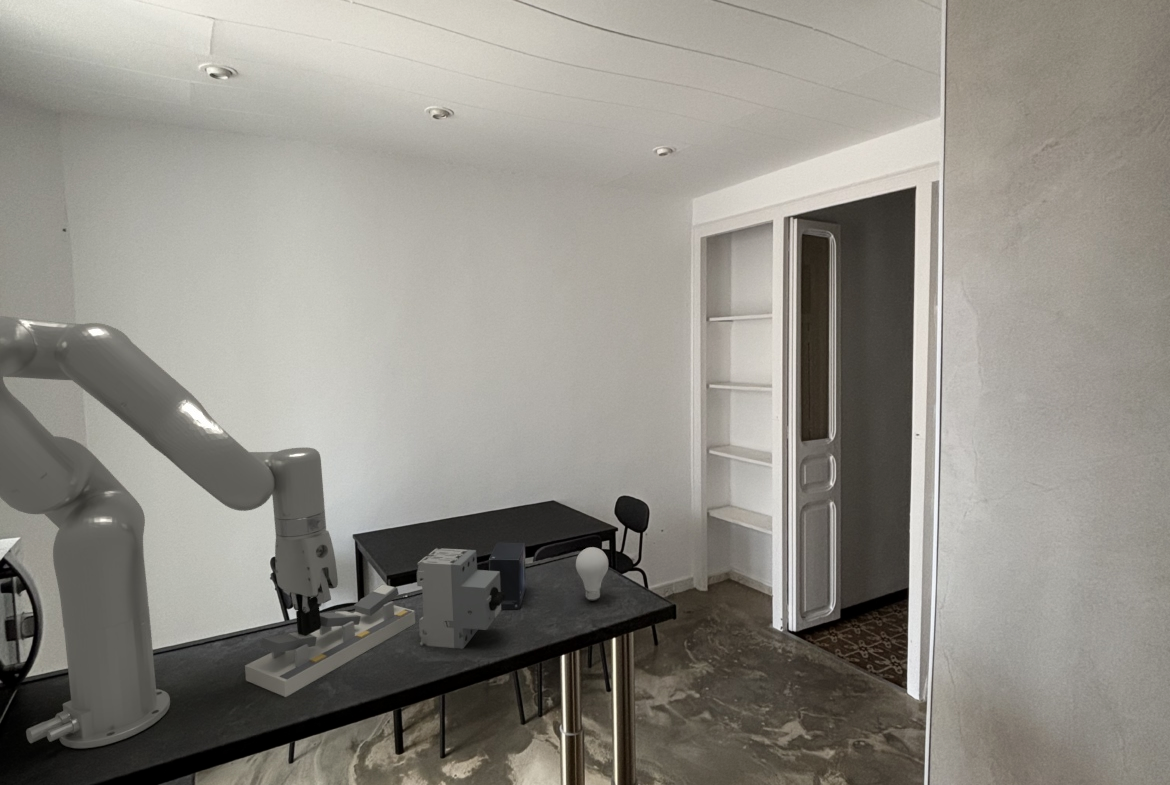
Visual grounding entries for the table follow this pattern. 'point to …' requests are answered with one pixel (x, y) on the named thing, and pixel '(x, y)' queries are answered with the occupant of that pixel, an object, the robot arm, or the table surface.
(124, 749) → the table surface
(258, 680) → the switch unit
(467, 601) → the circuit breaker
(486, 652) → the table surface
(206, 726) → the table surface
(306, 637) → the rocker
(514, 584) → the small box
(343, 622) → the rocker
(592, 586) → the light bulb
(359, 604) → the rocker
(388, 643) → the table surface
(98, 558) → the robot arm
